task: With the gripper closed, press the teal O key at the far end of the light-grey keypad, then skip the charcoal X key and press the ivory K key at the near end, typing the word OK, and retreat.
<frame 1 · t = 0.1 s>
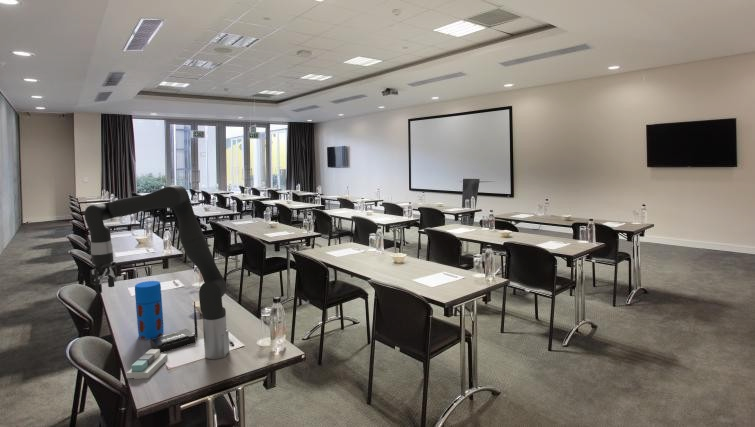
hand: (105, 289, 181), 29 cm above the table, tool pointing down, fingers open, 8 cm apart
keypad: (148, 368, 173), on the table
black wifi router: (177, 344, 197), on the table
key O: (139, 366, 168), point 4 cm above the table, slide at 0.0 cm
key X: (146, 360, 172), point 4 cm above the table, slide at 0.0 cm
thermos: (151, 335, 206), on the table
key K: (152, 354, 177), point 4 cm above the table, slide at 0.0 cm
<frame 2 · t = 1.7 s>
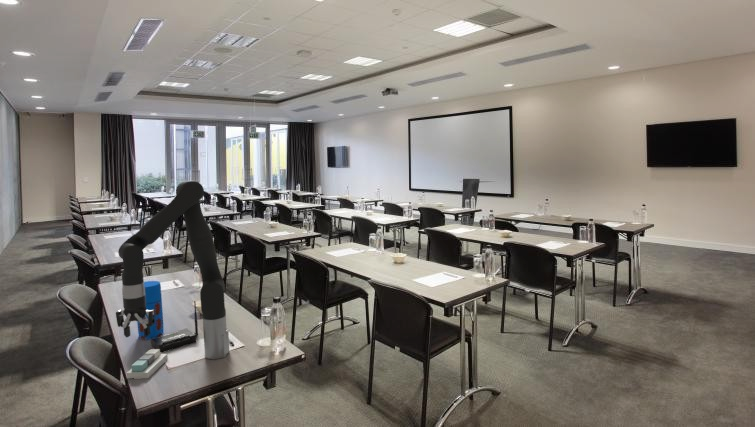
hand: (137, 336, 166), 16 cm above the table, tool pointing down, fingers open, 6 cm apart
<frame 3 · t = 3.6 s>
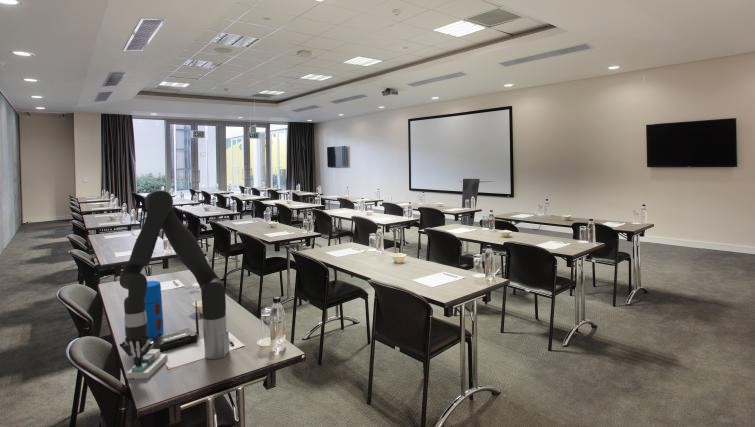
hand: (138, 365, 168), 4 cm above the table, tool pointing down, fingers closed
key O: (139, 369, 168), point 2 cm above the table, slide at 1.1 cm, touching gripper
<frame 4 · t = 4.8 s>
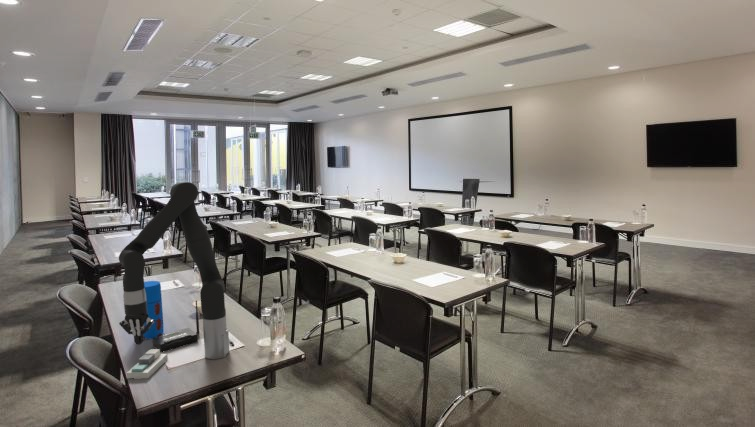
hand: (139, 343, 167), 13 cm above the table, tool pointing down, fingers closed
key O: (140, 370, 168), point 2 cm above the table, slide at 1.5 cm
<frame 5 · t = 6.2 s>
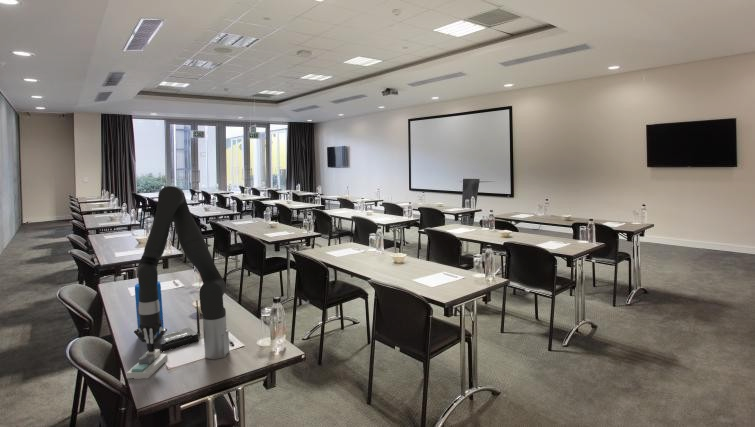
hand: (151, 351, 178), 5 cm above the table, tool pointing down, fingers closed
key K: (152, 354, 177), point 3 cm above the table, slide at 0.1 cm, touching gripper
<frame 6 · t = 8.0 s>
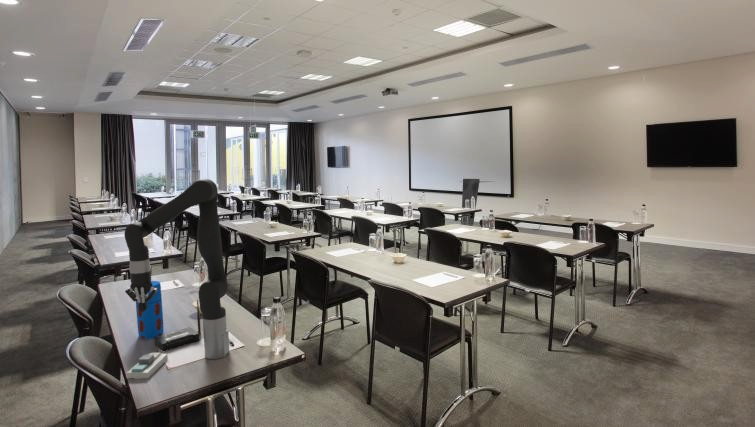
hand: (143, 310, 180), 21 cm above the table, tool pointing down, fingers closed
key K: (153, 358, 178), point 2 cm above the table, slide at 1.5 cm
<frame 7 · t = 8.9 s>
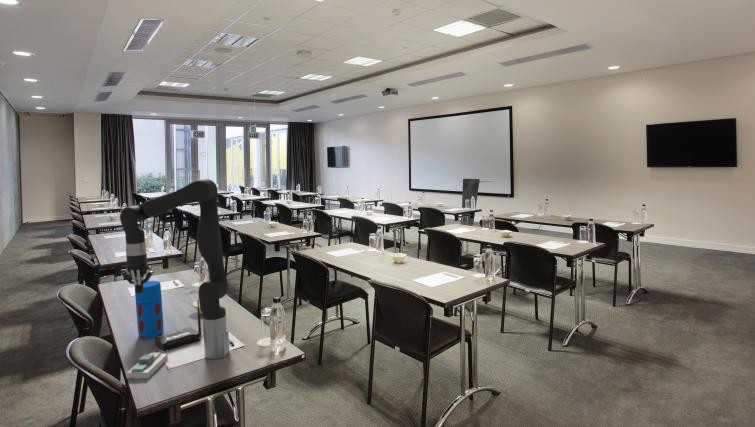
hand: (139, 293, 183), 27 cm above the table, tool pointing down, fingers closed
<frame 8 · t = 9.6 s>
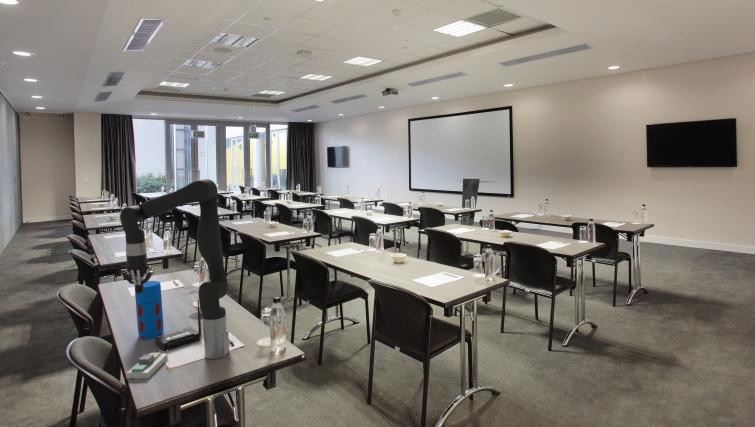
hand: (139, 293, 183), 27 cm above the table, tool pointing down, fingers closed
at the end: key O slide at 1.5 cm; key K slide at 1.5 cm; key X slide at 0.0 cm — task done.
